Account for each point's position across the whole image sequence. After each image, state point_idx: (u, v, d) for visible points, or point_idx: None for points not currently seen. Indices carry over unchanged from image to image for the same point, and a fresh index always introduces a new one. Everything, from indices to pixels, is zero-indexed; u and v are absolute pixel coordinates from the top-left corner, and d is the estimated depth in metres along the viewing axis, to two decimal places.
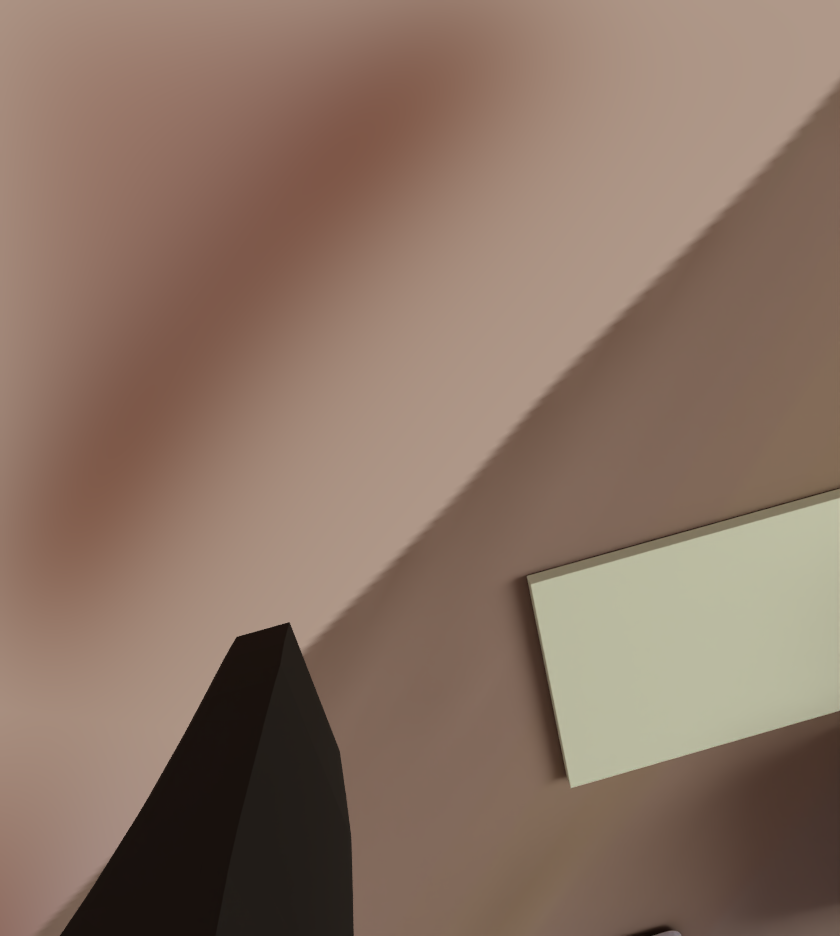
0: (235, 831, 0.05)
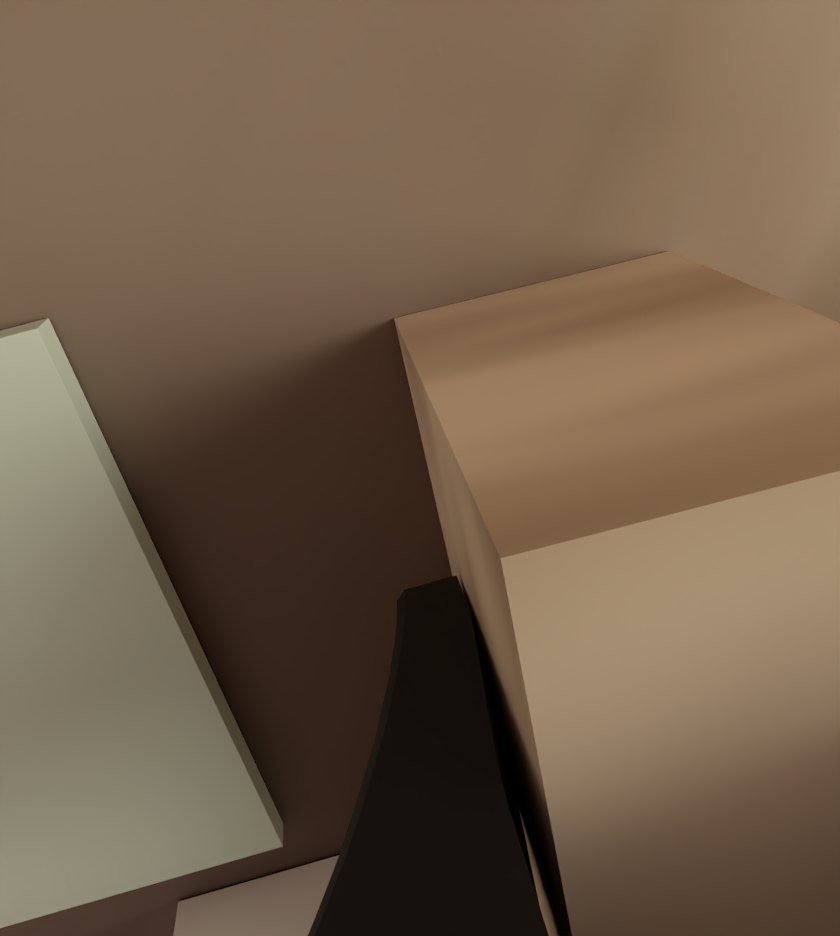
0: (496, 756, 0.05)
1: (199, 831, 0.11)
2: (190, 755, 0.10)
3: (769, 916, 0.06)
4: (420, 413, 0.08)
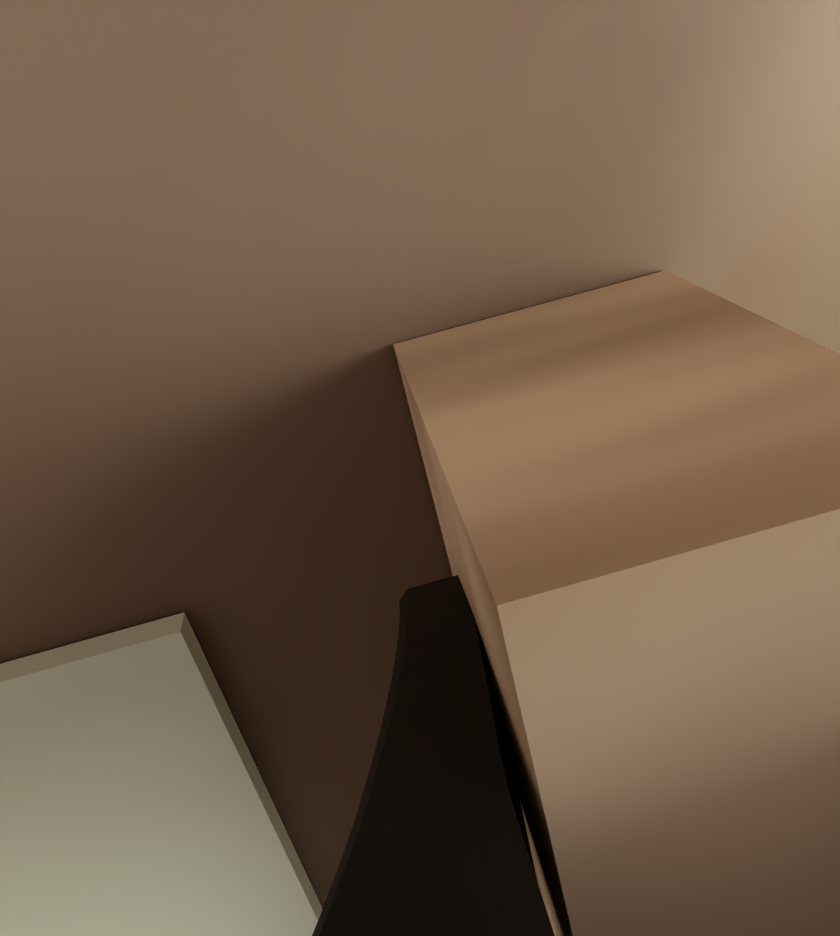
0: (500, 755, 0.05)
1: None
2: (280, 930, 0.12)
3: None
4: (421, 439, 0.08)
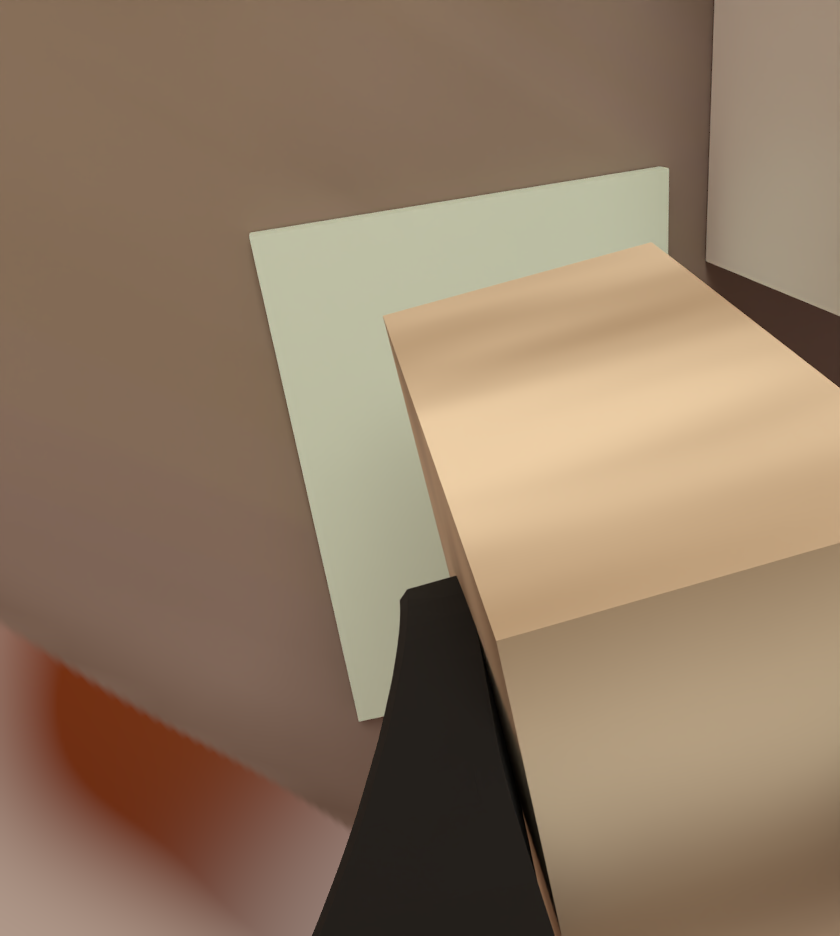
0: (500, 755, 0.05)
1: (631, 227, 0.15)
2: (561, 218, 0.15)
3: (718, 869, 0.07)
4: (411, 414, 0.09)
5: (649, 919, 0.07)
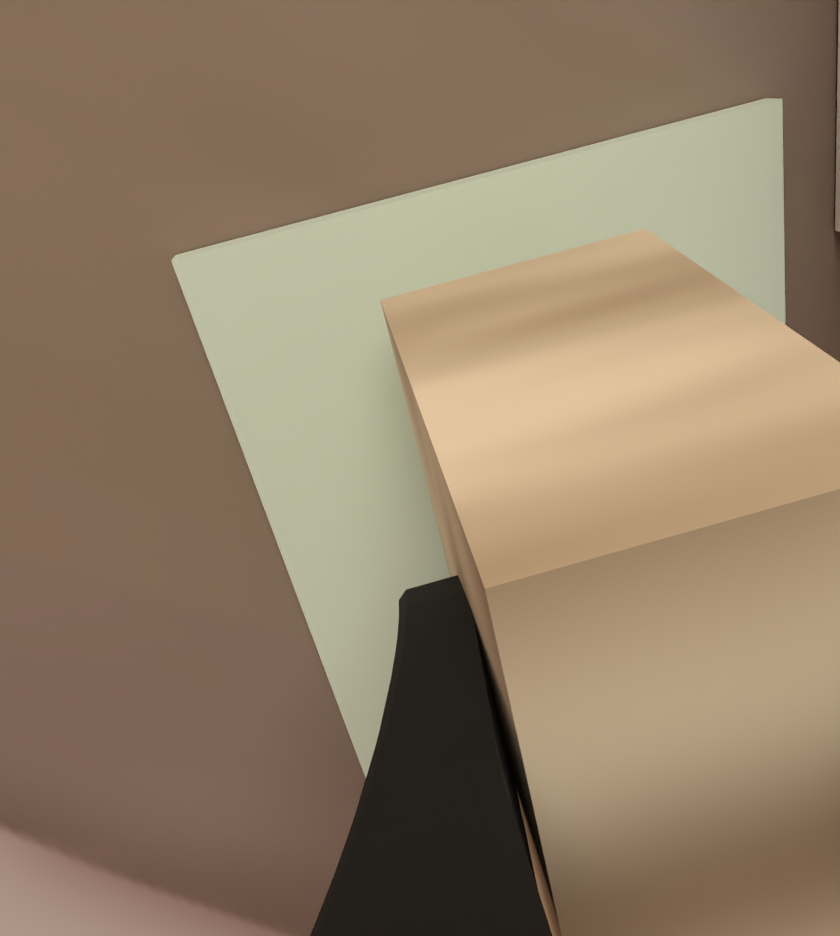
0: (498, 755, 0.05)
1: (729, 192, 0.10)
2: (625, 189, 0.10)
3: (713, 845, 0.07)
4: (407, 395, 0.09)
5: (646, 897, 0.07)
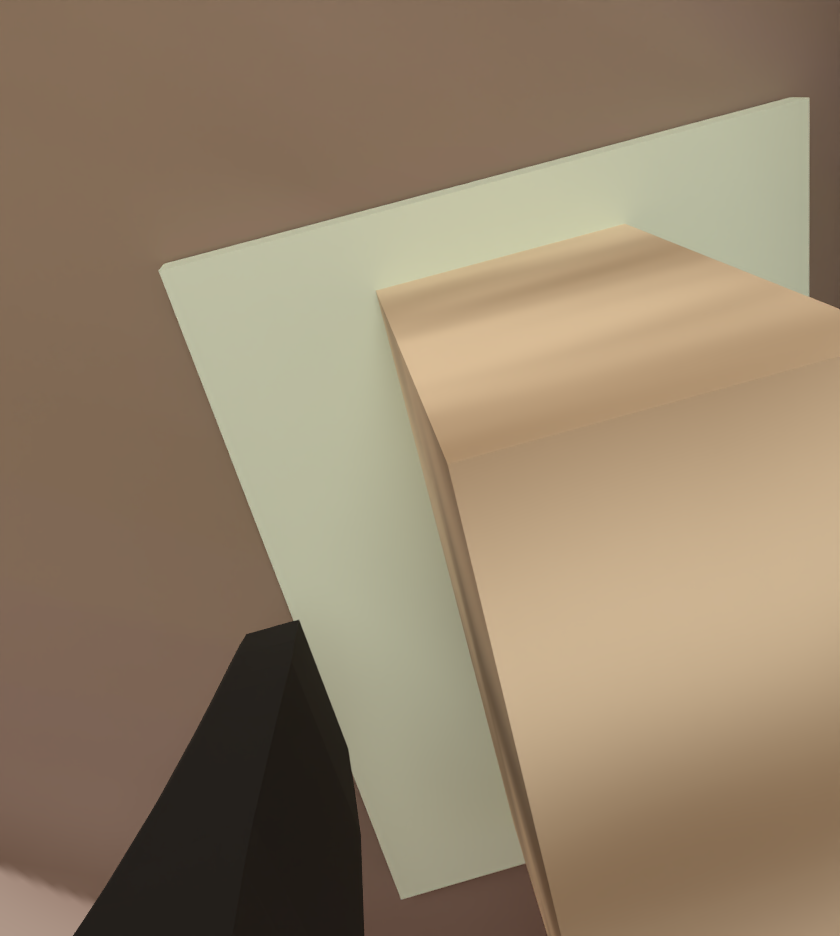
0: (251, 827, 0.05)
1: (752, 197, 0.10)
2: (642, 194, 0.10)
3: (705, 793, 0.07)
4: (400, 374, 0.09)
5: (638, 856, 0.07)
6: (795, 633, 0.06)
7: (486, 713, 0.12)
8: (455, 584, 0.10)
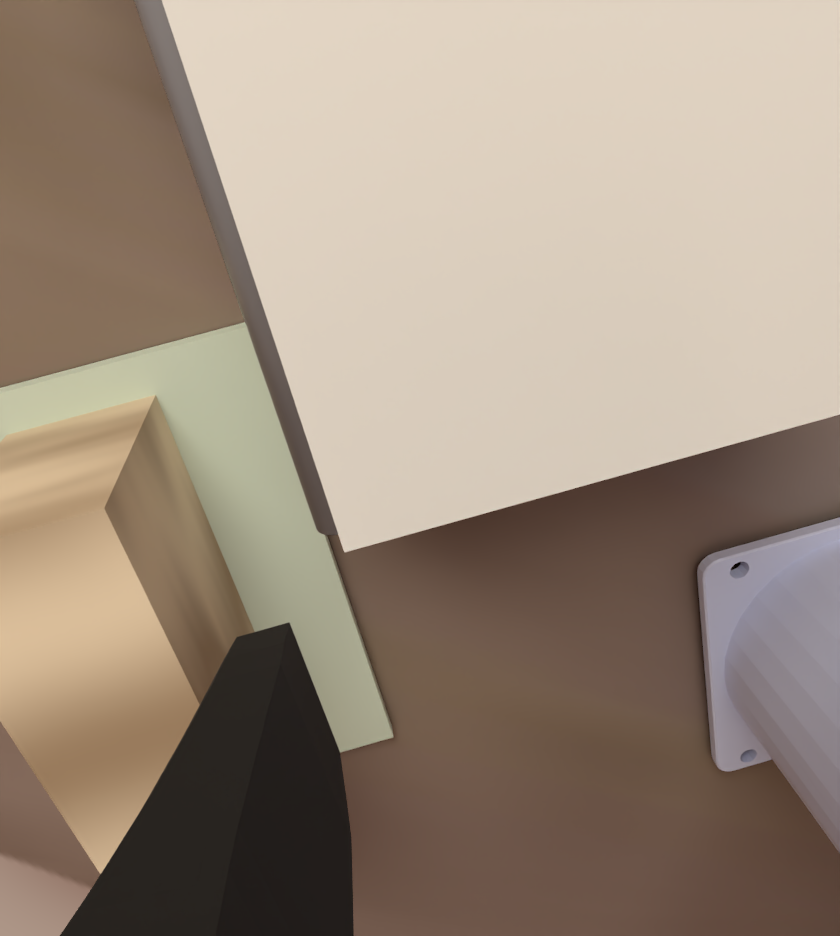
0: (234, 831, 0.05)
1: (233, 378, 0.16)
2: (162, 378, 0.16)
3: (100, 718, 0.14)
4: None
5: (77, 752, 0.14)
6: (112, 637, 0.13)
7: None
8: None
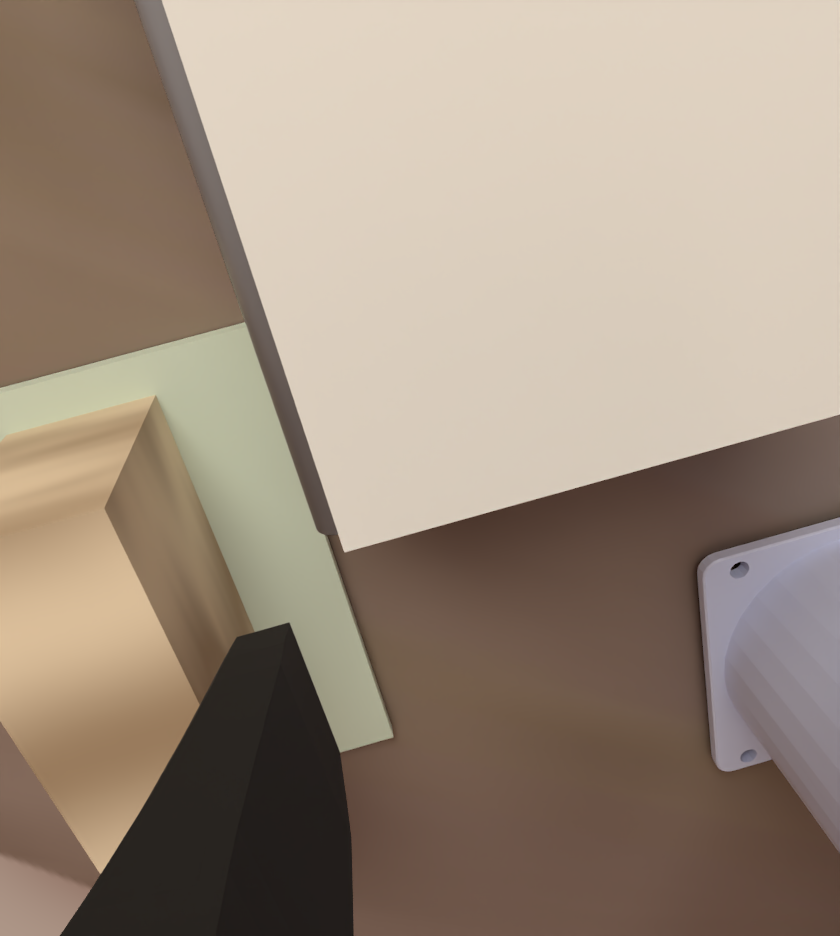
0: (234, 831, 0.05)
1: (233, 378, 0.16)
2: (162, 378, 0.16)
3: (100, 718, 0.14)
4: None
5: (77, 752, 0.14)
6: (112, 637, 0.13)
7: None
8: None
